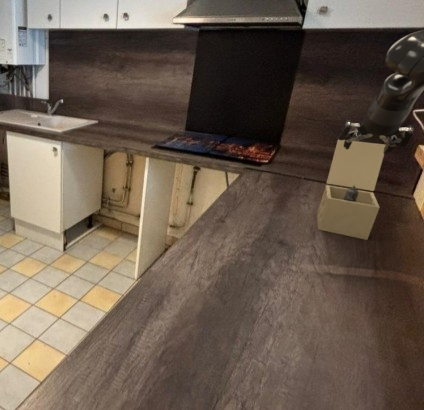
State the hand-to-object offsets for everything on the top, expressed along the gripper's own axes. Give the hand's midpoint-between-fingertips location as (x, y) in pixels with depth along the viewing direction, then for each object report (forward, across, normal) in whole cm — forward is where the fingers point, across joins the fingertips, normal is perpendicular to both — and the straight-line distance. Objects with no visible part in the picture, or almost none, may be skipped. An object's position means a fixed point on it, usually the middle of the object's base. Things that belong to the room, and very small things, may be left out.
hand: (365, 148), depth 98 cm
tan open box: (+15, 0, +17) cm, 23 cm away
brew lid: (+9, 0, 0) cm, 10 cm away
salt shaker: (+15, 0, +17) cm, 23 cm away
